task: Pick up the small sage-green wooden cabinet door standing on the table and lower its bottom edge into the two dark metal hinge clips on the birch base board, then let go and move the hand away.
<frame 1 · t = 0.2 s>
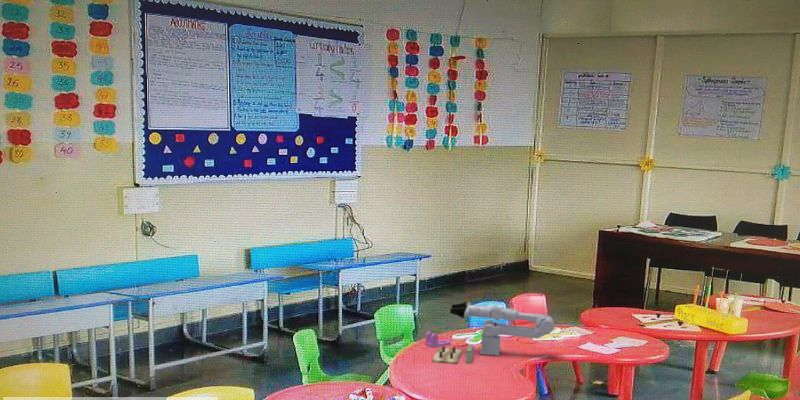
hand: (451, 308, 367), 21 cm above the table, tool horizontal, fingers open, 7 cm apart
bracket: (439, 345, 378), on the table
hinge base: (447, 356, 358), on the table
door: (469, 360, 354), on the table
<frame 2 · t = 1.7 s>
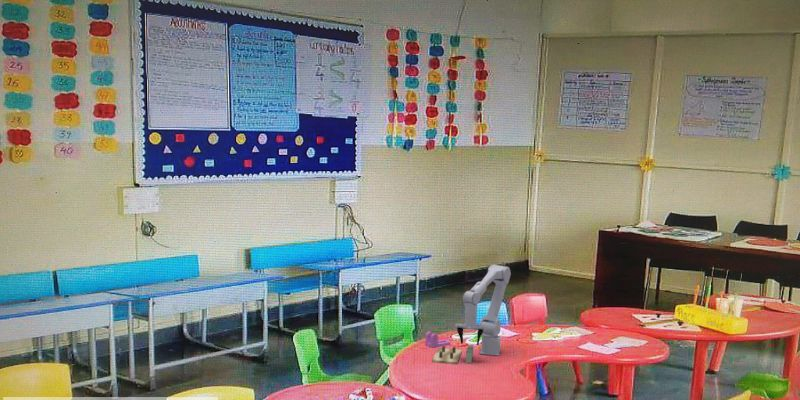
hand: (469, 343, 353), 8 cm above the table, tool pointing down, fingers open, 7 cm apart
nothing on the table moved.
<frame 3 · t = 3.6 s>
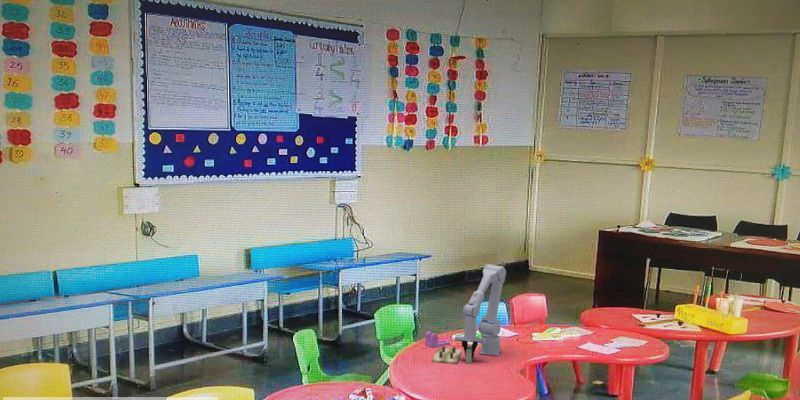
hand: (469, 356, 354), 2 cm above the table, tool pointing down, fingers closed on door, 2 cm apart
door: (469, 359, 354), on the table, touching gripper
everything else where it was.
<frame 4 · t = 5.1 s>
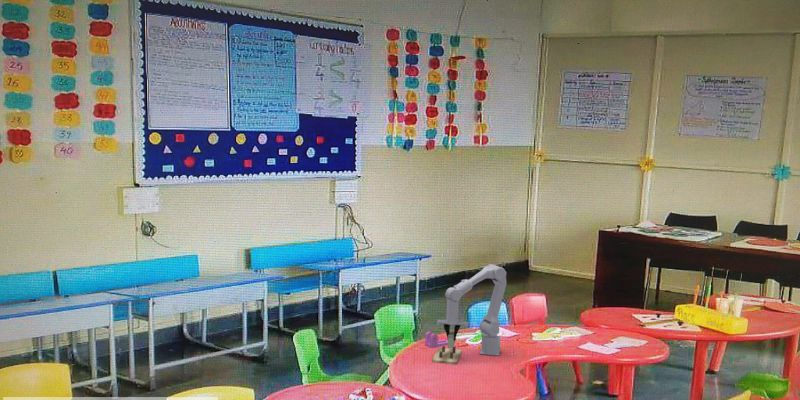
hand: (451, 339, 357), 9 cm above the table, tool pointing down, fingers closed on door, 2 cm apart
door: (451, 345, 357), point 6 cm above the table, touching gripper
everything else where it was.
when the fingers open (4 cm above the table, at t = 7.0 s): door stays where it is, resting on hinge base.
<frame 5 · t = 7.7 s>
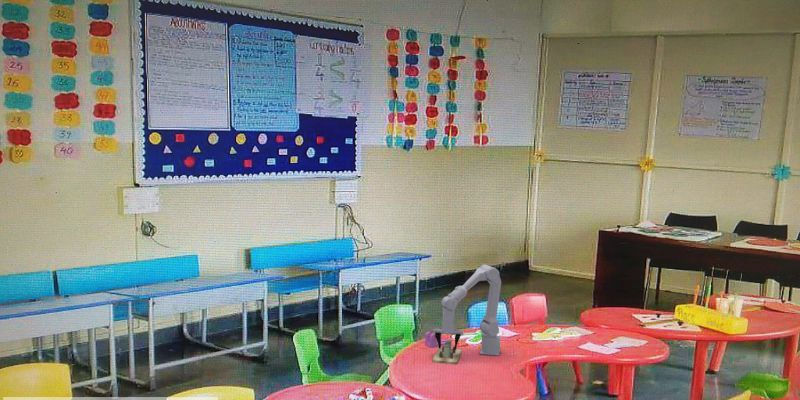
hand: (447, 348, 358), 4 cm above the table, tool pointing down, fingers open, 7 cm apart
door: (447, 354, 358), point 1 cm above the table, touching hinge base
everything else where it was.
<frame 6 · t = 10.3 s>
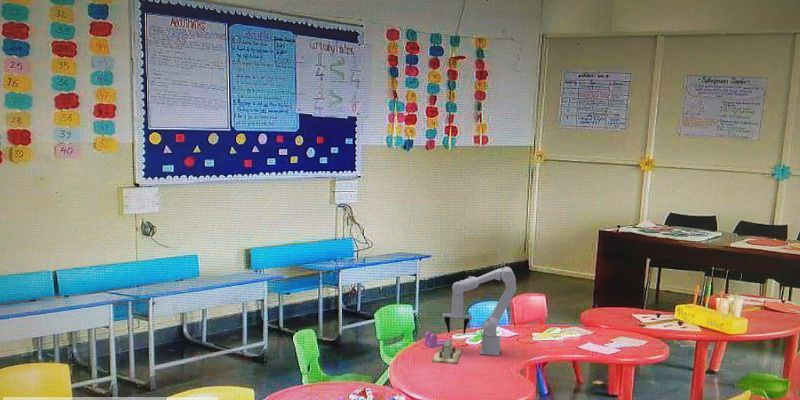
hand: (456, 332, 367), 9 cm above the table, tool pointing down, fingers open, 7 cm apart
nothing on the table moved.
at the end: door 0.2 cm off-centre on the hinge base, point 1.0 cm above the hinge base's base; door tilted 0°; the gripper is holding nothing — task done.
